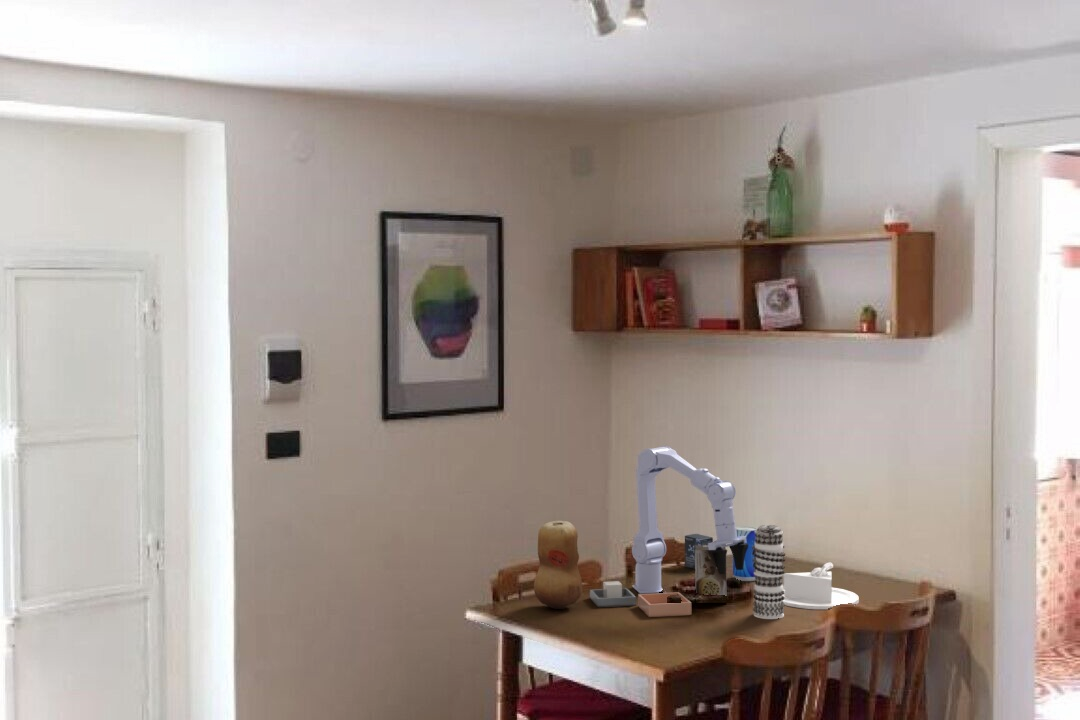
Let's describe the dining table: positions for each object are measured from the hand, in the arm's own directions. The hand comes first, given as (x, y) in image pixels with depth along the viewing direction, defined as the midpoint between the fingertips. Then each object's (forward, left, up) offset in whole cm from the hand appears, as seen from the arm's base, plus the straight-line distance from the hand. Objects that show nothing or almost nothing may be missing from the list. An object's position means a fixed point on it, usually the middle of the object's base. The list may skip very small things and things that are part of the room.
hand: (731, 571), depth 355 cm
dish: (-5, +28, -11) cm, 30 cm away
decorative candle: (+10, +8, -11) cm, 16 cm away
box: (-52, +7, -11) cm, 54 cm away
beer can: (-34, +17, -11) cm, 40 cm away
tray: (-14, -31, -11) cm, 36 cm away
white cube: (-14, -31, -10) cm, 36 cm away
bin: (-1, -19, -11) cm, 22 cm away
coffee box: (-9, -3, -11) cm, 14 cm away
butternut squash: (-10, -48, -11) cm, 51 cm away
